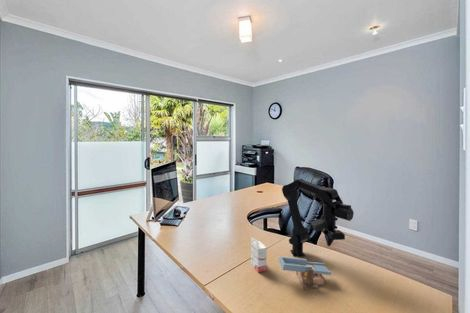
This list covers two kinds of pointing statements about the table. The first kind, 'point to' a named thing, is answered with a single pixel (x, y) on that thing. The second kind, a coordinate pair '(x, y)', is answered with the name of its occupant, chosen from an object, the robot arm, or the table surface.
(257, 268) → the ink cartridge box
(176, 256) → the table surface
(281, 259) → the lever
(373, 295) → the table surface
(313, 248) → the table surface
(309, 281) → the stand
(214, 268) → the table surface
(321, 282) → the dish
